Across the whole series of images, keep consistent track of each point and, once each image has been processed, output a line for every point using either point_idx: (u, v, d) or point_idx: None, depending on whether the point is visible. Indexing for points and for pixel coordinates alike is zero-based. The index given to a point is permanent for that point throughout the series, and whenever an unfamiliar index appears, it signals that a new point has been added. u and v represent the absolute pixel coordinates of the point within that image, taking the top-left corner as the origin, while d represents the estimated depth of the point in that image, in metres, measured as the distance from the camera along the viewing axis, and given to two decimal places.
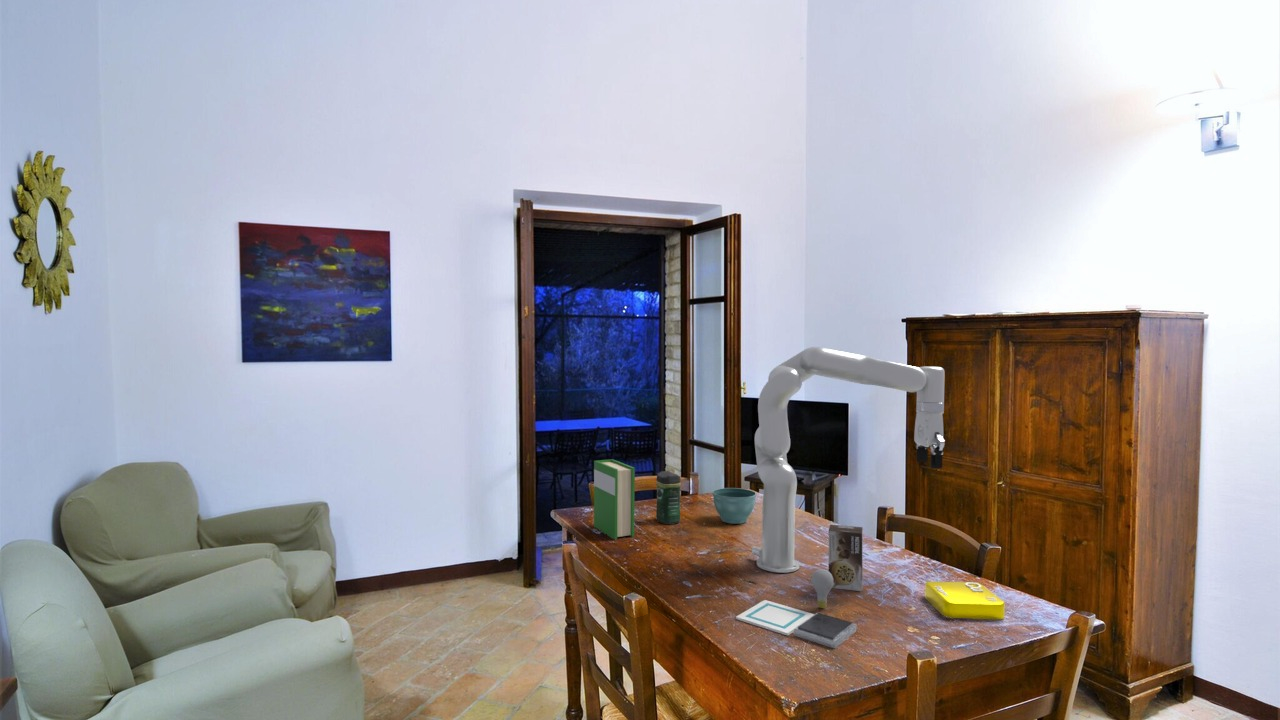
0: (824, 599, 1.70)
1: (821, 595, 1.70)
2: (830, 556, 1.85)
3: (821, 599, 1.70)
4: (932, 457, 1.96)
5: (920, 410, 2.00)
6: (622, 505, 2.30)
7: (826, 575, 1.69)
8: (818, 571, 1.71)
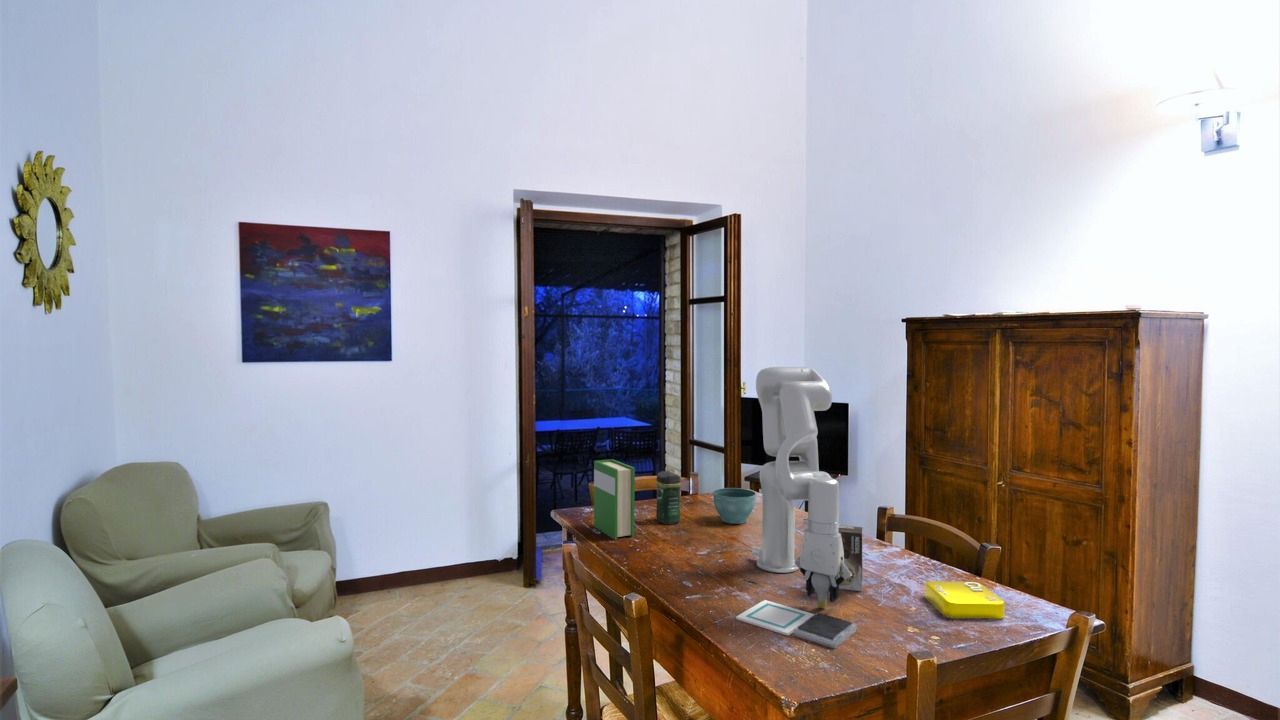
0: (824, 599, 1.70)
1: (821, 595, 1.70)
2: None
3: (821, 599, 1.70)
4: (832, 589, 1.68)
5: (822, 533, 1.67)
6: (622, 505, 2.30)
7: (826, 575, 1.69)
8: None
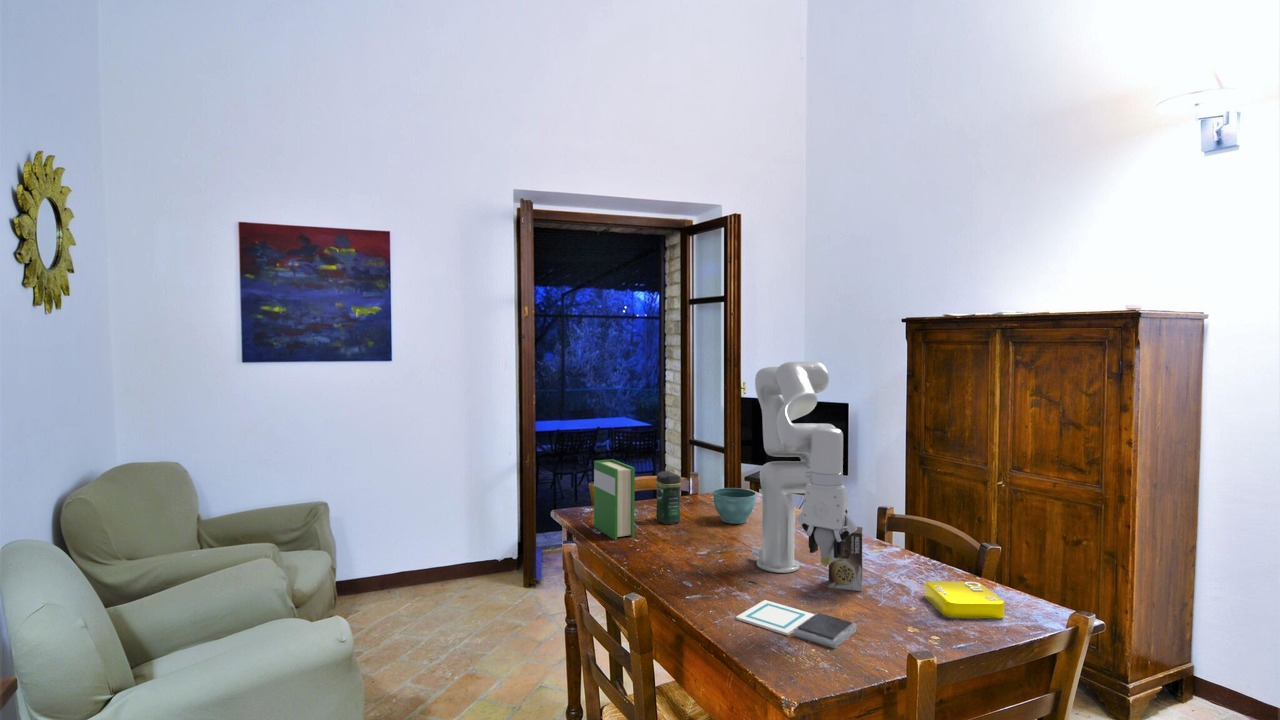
0: (828, 556, 1.61)
1: (825, 551, 1.61)
2: None
3: (824, 556, 1.61)
4: (836, 545, 1.59)
5: (825, 484, 1.58)
6: (622, 505, 2.30)
7: (830, 529, 1.60)
8: None
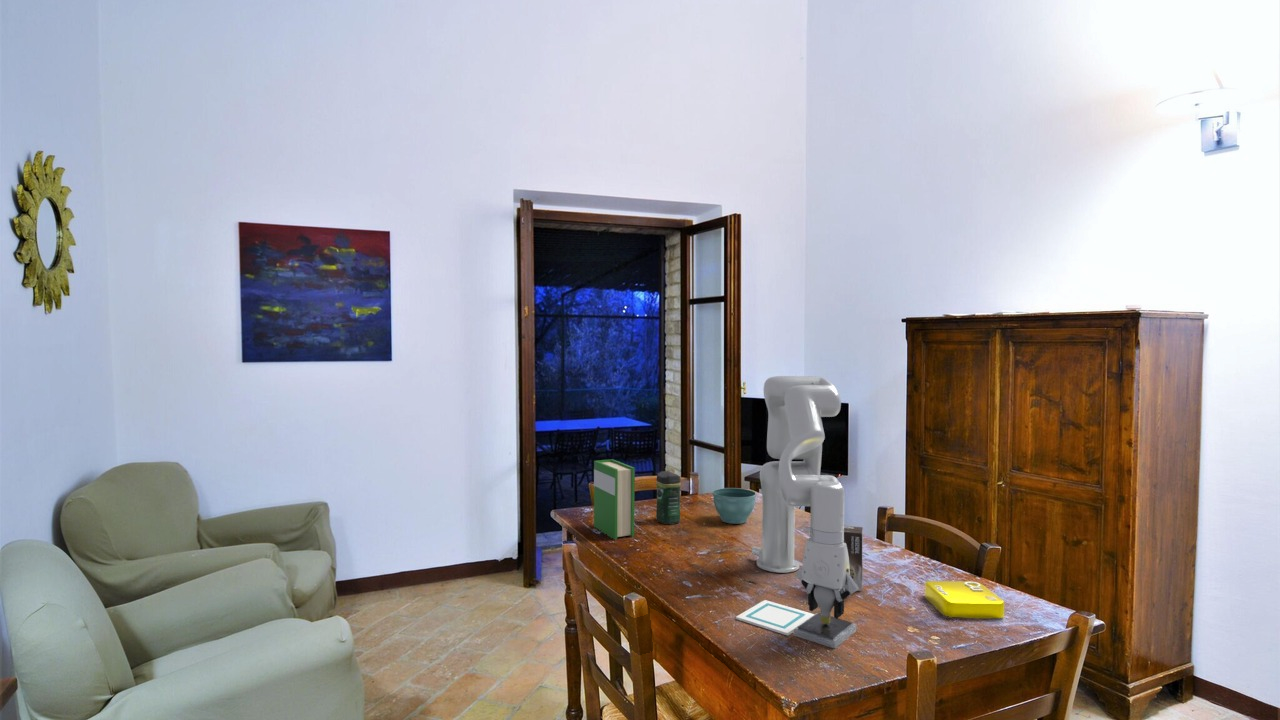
0: (828, 615, 1.56)
1: (825, 610, 1.56)
2: None
3: (824, 615, 1.56)
4: (837, 604, 1.54)
5: (826, 543, 1.53)
6: (622, 505, 2.30)
7: None
8: None
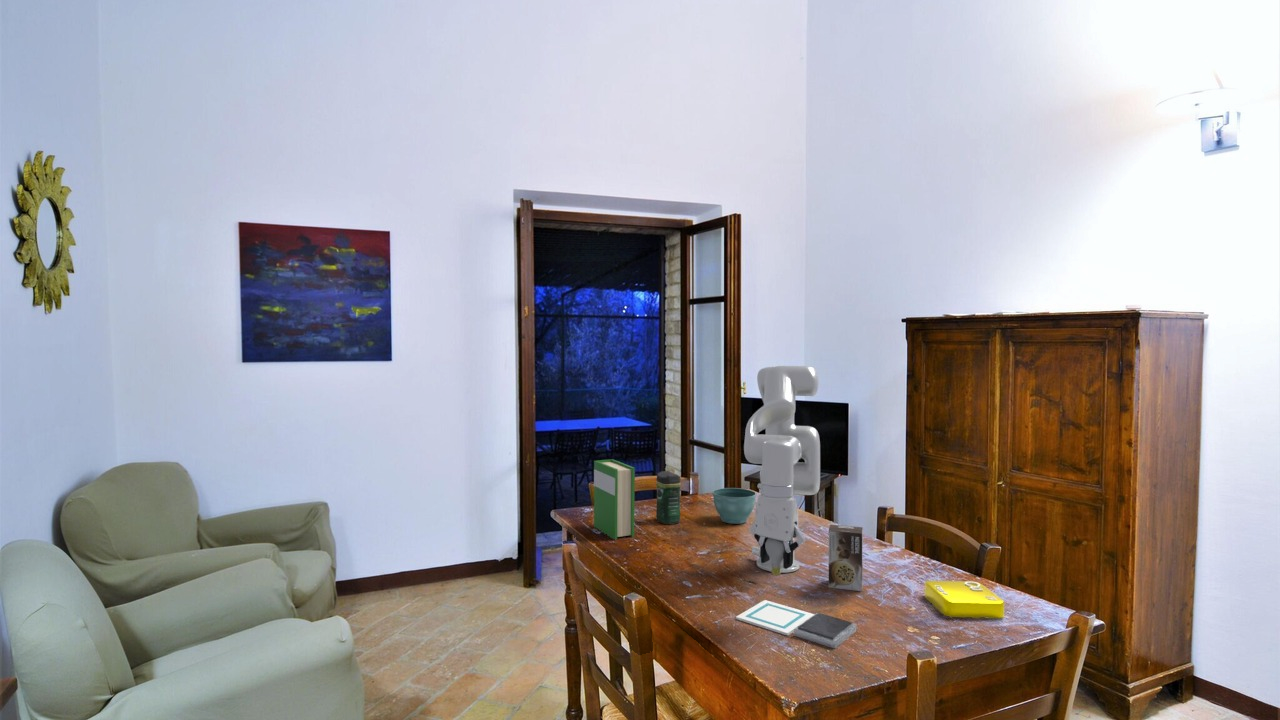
0: (778, 566, 1.64)
1: (775, 562, 1.64)
2: (830, 556, 1.85)
3: (774, 566, 1.64)
4: (786, 555, 1.62)
5: (775, 497, 1.61)
6: (622, 505, 2.30)
7: (780, 541, 1.63)
8: None
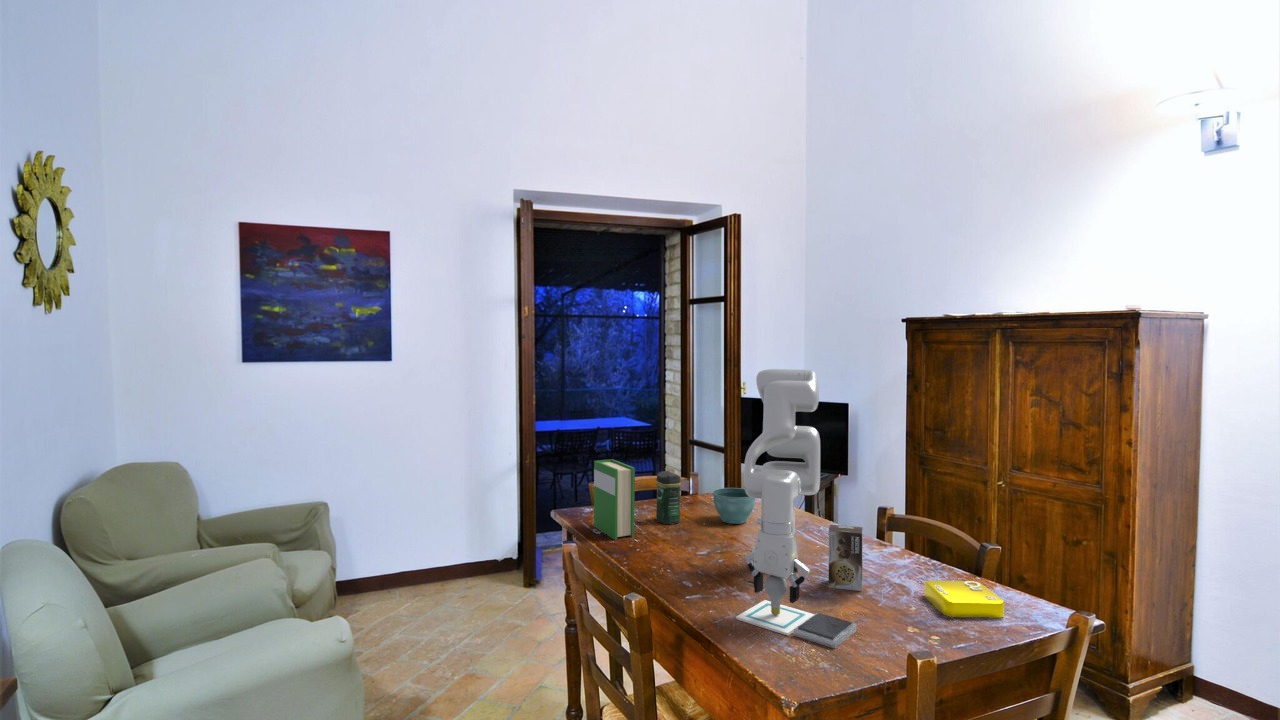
0: (778, 605, 1.65)
1: (774, 601, 1.64)
2: (830, 556, 1.85)
3: (774, 605, 1.65)
4: (792, 590, 1.61)
5: (774, 533, 1.61)
6: (622, 505, 2.30)
7: (779, 581, 1.63)
8: (771, 577, 1.65)
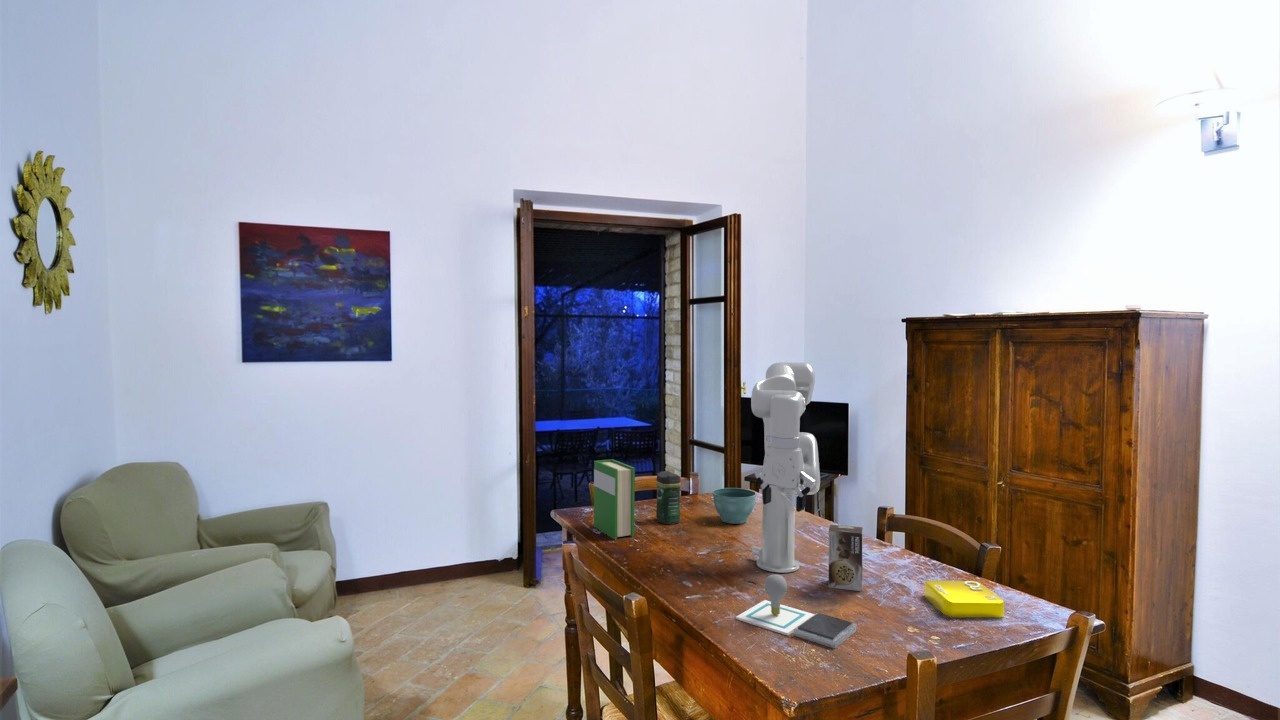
0: (778, 605, 1.65)
1: (774, 601, 1.64)
2: (830, 556, 1.85)
3: (774, 605, 1.65)
4: (799, 499, 1.72)
5: (782, 448, 1.72)
6: (622, 505, 2.30)
7: (779, 580, 1.64)
8: (771, 576, 1.65)
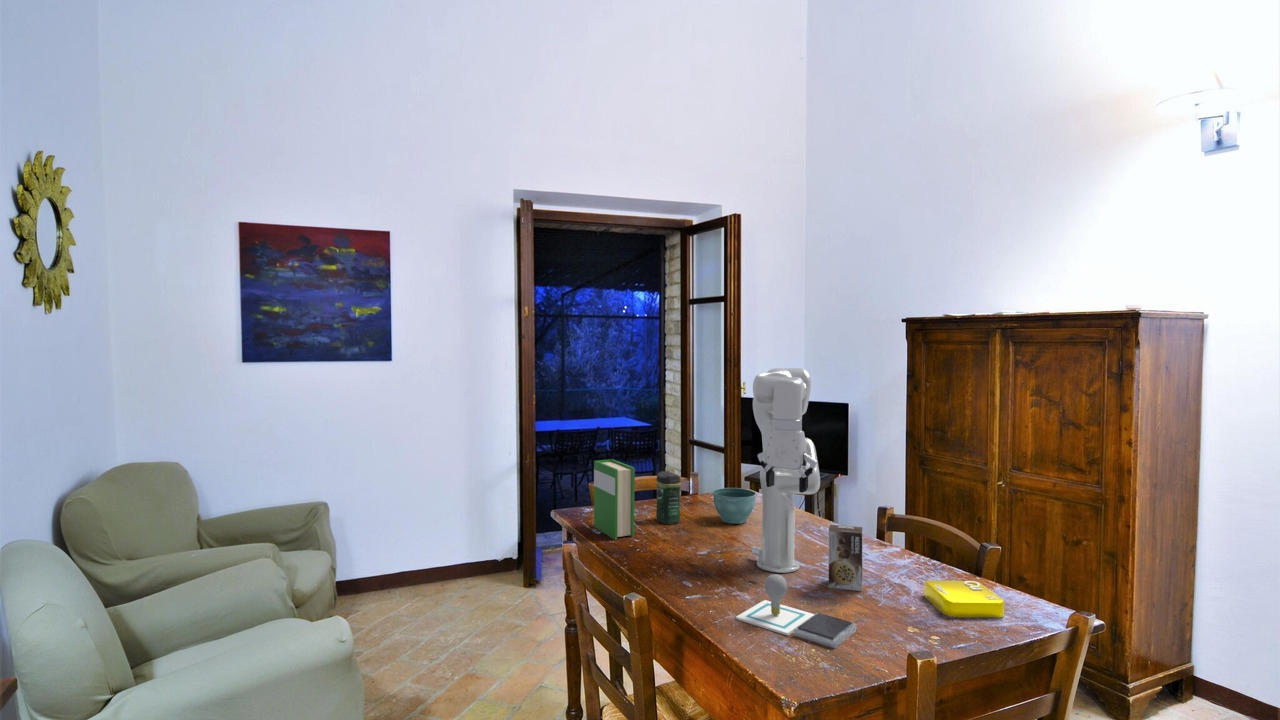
0: (778, 605, 1.65)
1: (774, 601, 1.64)
2: (830, 556, 1.85)
3: (774, 605, 1.65)
4: (802, 480, 1.76)
5: (785, 429, 1.77)
6: (622, 505, 2.30)
7: (779, 580, 1.64)
8: (771, 576, 1.65)
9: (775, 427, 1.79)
